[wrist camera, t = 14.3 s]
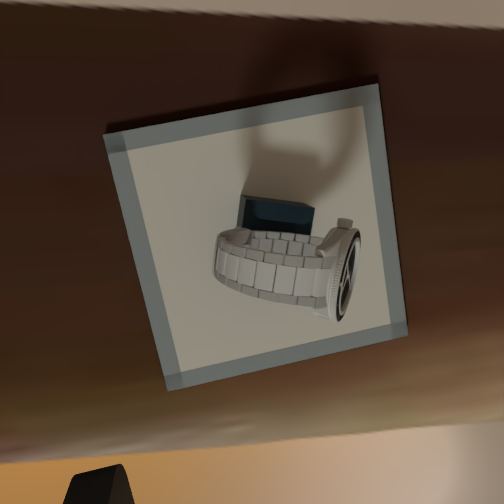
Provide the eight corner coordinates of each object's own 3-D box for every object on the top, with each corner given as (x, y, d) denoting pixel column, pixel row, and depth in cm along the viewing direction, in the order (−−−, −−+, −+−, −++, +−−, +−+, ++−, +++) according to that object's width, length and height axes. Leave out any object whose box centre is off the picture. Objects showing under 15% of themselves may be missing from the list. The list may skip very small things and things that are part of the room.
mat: (168, 387, 34) (167, 391, 33) (104, 135, 30) (102, 134, 29) (404, 332, 35) (408, 335, 35) (374, 84, 31) (377, 83, 31)
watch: (317, 283, 33) (377, 346, 22) (204, 271, 32) (209, 332, 21) (331, 205, 32) (401, 231, 21) (214, 189, 31) (225, 209, 20)
